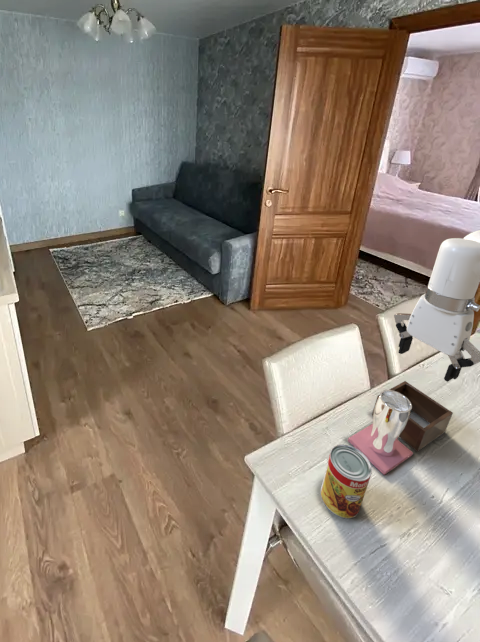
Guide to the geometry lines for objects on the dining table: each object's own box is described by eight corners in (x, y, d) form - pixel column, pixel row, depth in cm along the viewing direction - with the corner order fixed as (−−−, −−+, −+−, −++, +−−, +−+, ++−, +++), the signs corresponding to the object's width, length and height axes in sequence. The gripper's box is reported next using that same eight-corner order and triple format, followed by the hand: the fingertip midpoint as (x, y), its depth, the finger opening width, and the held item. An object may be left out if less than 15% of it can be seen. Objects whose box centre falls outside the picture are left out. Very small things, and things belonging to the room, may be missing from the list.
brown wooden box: (398, 399, 102) (405, 380, 99) (444, 432, 91) (453, 412, 89) (371, 414, 96) (377, 395, 94) (417, 451, 86) (425, 431, 84)
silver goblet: (367, 428, 91) (380, 384, 85) (397, 442, 87) (413, 397, 82) (363, 448, 86) (376, 403, 80) (395, 463, 82) (412, 417, 76)
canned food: (352, 527, 71) (365, 489, 66) (314, 499, 75) (324, 462, 71) (364, 497, 76) (376, 460, 71) (328, 473, 81) (337, 437, 76)
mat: (374, 424, 93) (375, 421, 93) (412, 455, 85) (413, 452, 85) (347, 440, 89) (348, 438, 88) (384, 475, 81) (385, 472, 80)
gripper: (509, 314, 65) (479, 384, 71) (415, 276, 79) (397, 338, 86) (489, 325, 62) (460, 397, 68) (394, 284, 76) (378, 347, 82)
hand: (425, 364), depth 77 cm, fingers open, 9 cm apart
